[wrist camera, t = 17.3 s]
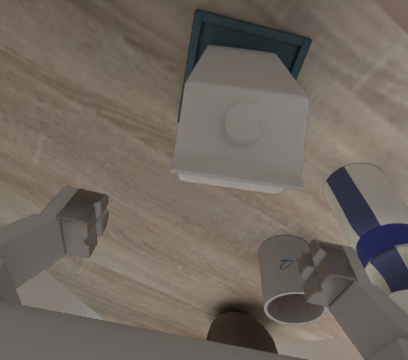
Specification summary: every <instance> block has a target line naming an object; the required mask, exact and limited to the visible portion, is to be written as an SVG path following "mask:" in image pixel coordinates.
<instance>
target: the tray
mask: <svg viewBox="0 0 408 360" xmlns="http://www.w3.org/2000/svg"><path fill="white" fill-rule="evenodd" d="M311 42H312V39H310V38H307V37H303V36H299V35H296V34H292V33H288V32H284V31H280V30H276V29H272V28H268V27H264V26H261V25H257V24H253V23H249V22H245V21H241V20H237V19H233V18H229V17H226V16H222V15H218V14H214V13H210V12H206V11H202V10H198V9H197V10H195V14H194V21H193V27H192V33H191V40H190V46H189V52H188V59H187V65H186V71H185V78H184V84H183V90H182V97H181V103H180V109H179V116H178V123H179V120H180V114H181V107H182V101H183V94H184V88H185V83H186V82H187V80H188V78H189V76H190V74H191V73H192V71H193V69H194V68H195V66H196V64H197V63H198V61H199V59H200V58H201V56H202V54H203V53H204V51H205V49H206V48H207V46H208V45H219V46H227V47H235V48H243V49H250V50H258V51H266V52H273V53H276V55H277V56H278V57H279V59H280V60H281V61H282V63H283V64H284V65H285V67H286V68H287V69H288V71H289V72H290V74H291V75H292V76H293V78H294V79H295V80H296V79H297V76H298V74H299V72H300V69H301V67H302V64H303V62H304V59H305V57H306V54H307V52H308V49H309V47H310V45H311Z"/></svg>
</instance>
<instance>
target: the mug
mask: <svg viewBox="0 0 408 360" xmlns="http://www.w3.org/2000/svg"><path fill="white" fill-rule="evenodd" d="M306 251H309V245H308V244H307V243H306V242H305V241H304V240H302V239H301V238H298V237H295V236H289V235H283V236H276V237H273V238H270V239H269V240H267V241H265V242H264V243H263V244H262V245H261V247H260V249H259V262H260V272H261V283H262V293H263V304H264V312H265V314H266V315H267V316H268V317H269V318H271V319H272V320H274V321H276V322H279V323H283V324H290V325H300V324H307V323H311V322H314V321H317V320H319V319H320V318H322V317H323V316H324V315H325V314H326V312H327V309H328V308H329V307H325V306H320V305H316V304H312V303H307V301H306V297H305V293H304V289H303V285H304V283H305V281H304V280H303V279H302V277H301V276H300V273H299V261H300V258H301V256H302V254H303V253H304V252H306Z"/></svg>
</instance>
